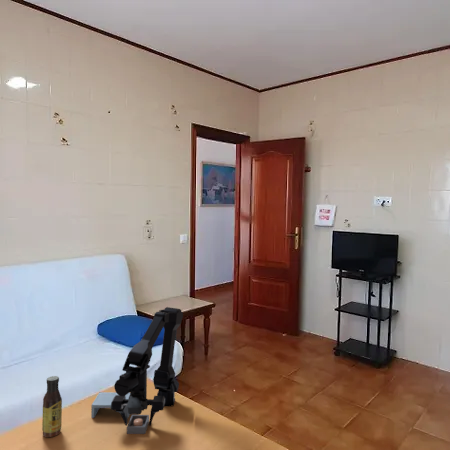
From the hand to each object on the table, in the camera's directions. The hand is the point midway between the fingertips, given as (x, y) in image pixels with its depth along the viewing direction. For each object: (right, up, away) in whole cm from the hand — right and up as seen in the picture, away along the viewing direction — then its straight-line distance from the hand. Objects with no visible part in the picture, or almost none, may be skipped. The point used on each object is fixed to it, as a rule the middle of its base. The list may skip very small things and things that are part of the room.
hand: (138, 425), depth 141 cm
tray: (0, -1, 0) cm, 1 cm away
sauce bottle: (-30, -1, -4) cm, 30 cm away
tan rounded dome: (0, -1, 0) cm, 1 cm away
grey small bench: (-12, -1, +11) cm, 16 cm away
